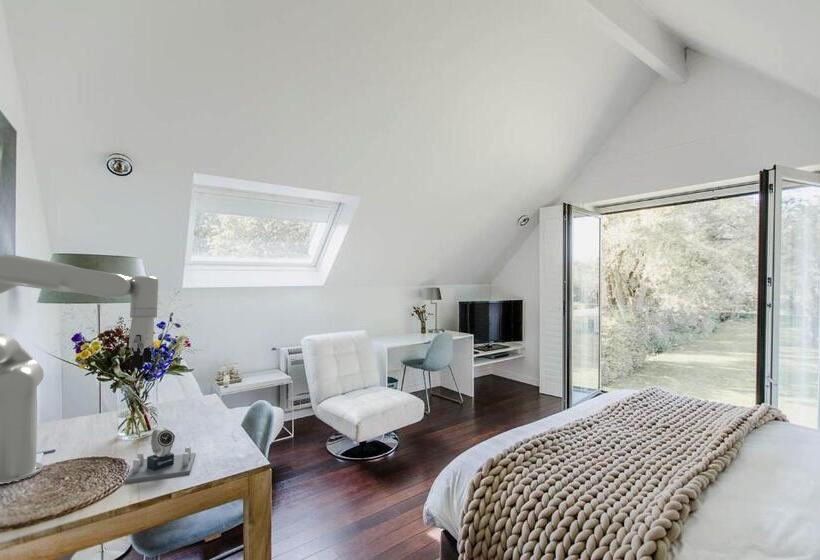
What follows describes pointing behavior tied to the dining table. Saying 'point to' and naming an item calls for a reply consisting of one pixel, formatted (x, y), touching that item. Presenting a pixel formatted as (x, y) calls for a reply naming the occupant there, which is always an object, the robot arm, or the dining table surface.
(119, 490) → the dining table surface
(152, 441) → the watch
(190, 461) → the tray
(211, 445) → the dining table surface
